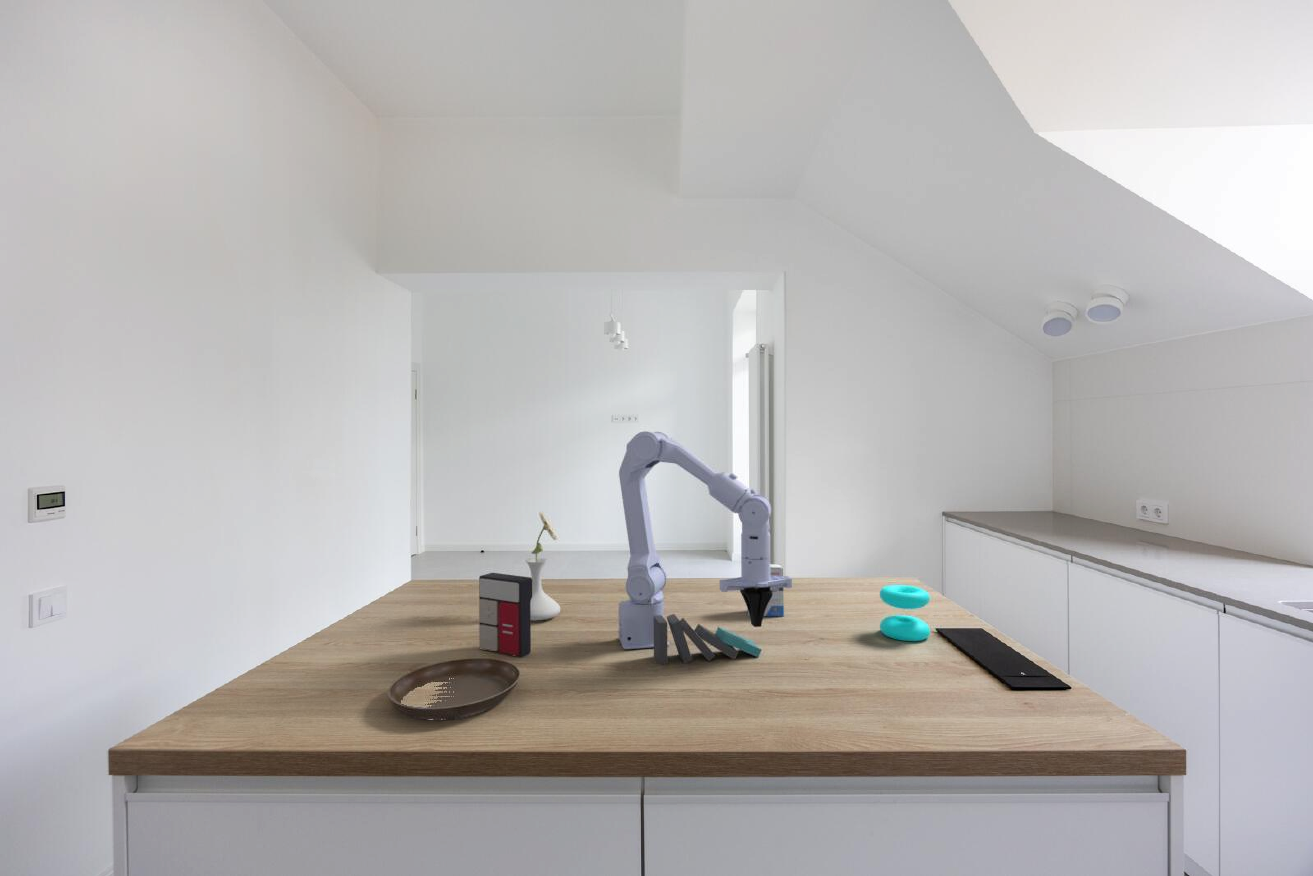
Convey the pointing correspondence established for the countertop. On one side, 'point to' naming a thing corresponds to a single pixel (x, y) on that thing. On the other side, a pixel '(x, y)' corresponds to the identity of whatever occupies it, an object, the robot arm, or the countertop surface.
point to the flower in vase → (540, 601)
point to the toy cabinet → (505, 613)
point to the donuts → (902, 624)
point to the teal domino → (738, 642)
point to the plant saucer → (458, 687)
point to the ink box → (775, 595)
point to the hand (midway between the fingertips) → (756, 625)
